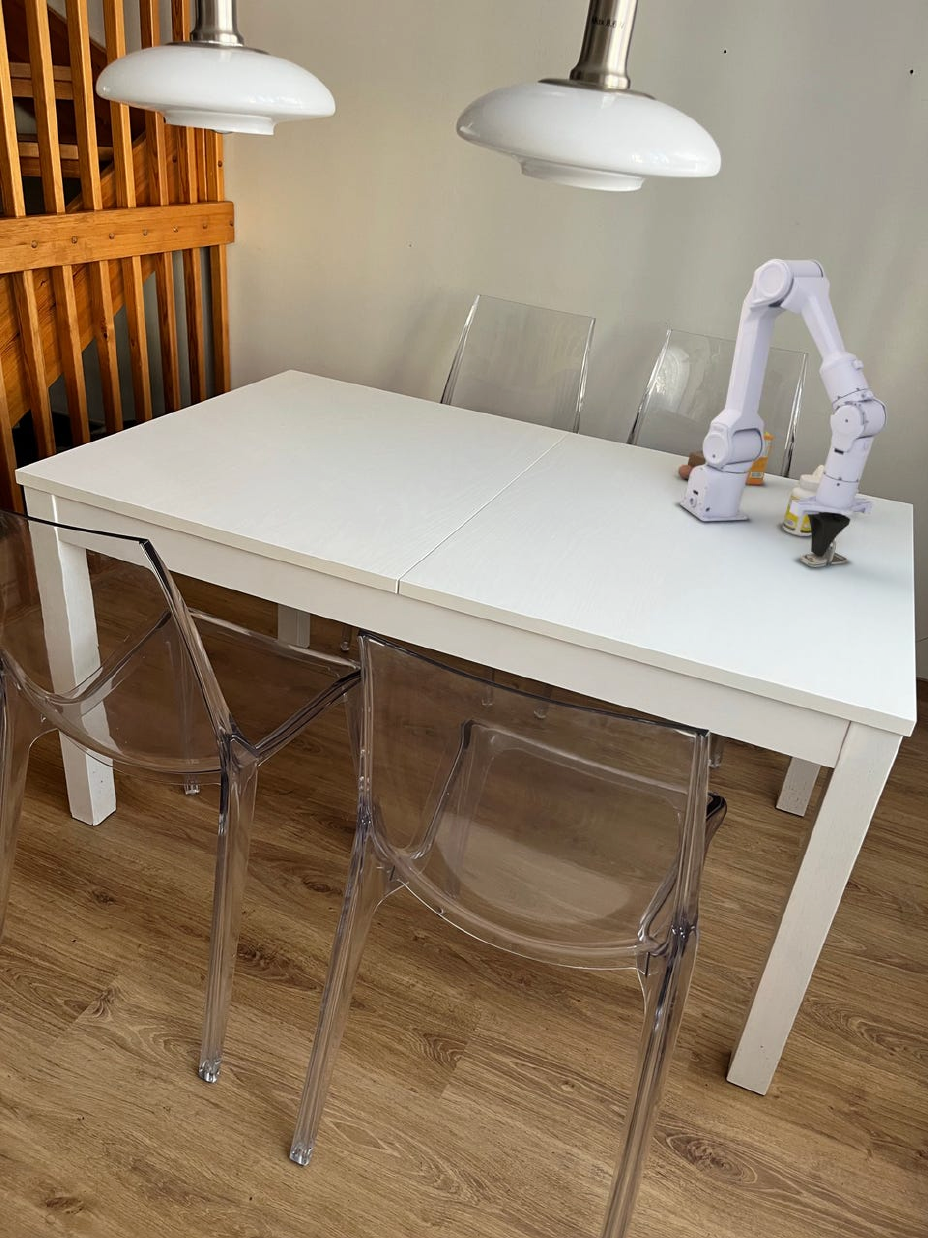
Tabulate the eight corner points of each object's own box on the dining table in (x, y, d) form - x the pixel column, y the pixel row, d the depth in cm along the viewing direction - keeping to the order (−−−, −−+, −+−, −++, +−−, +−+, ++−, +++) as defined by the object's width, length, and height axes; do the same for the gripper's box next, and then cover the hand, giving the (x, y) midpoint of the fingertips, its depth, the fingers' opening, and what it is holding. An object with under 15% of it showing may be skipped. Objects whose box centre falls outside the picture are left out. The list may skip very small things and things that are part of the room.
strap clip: (811, 568, 157) (818, 544, 155) (797, 560, 159) (804, 536, 157) (847, 562, 161) (855, 539, 159) (833, 554, 163) (841, 531, 161)
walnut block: (704, 485, 187) (710, 460, 184) (684, 476, 190) (690, 452, 188) (720, 481, 190) (726, 457, 187) (700, 473, 193) (706, 449, 191)
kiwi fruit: (706, 480, 189) (709, 467, 188) (686, 482, 186) (689, 469, 185) (687, 470, 193) (689, 457, 192) (667, 472, 190) (670, 460, 189)
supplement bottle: (814, 529, 172) (830, 477, 168) (810, 539, 168) (827, 486, 163) (783, 521, 174) (798, 470, 169) (779, 531, 170) (794, 478, 165)
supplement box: (739, 478, 193) (752, 429, 188) (756, 479, 193) (769, 431, 189) (745, 484, 190) (758, 435, 185) (762, 485, 190) (775, 436, 186)
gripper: (820, 485, 146) (795, 566, 153) (895, 484, 151) (868, 562, 158) (791, 469, 152) (769, 547, 159) (865, 468, 157) (840, 544, 164)
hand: (816, 554), depth 159 cm, fingers closed
